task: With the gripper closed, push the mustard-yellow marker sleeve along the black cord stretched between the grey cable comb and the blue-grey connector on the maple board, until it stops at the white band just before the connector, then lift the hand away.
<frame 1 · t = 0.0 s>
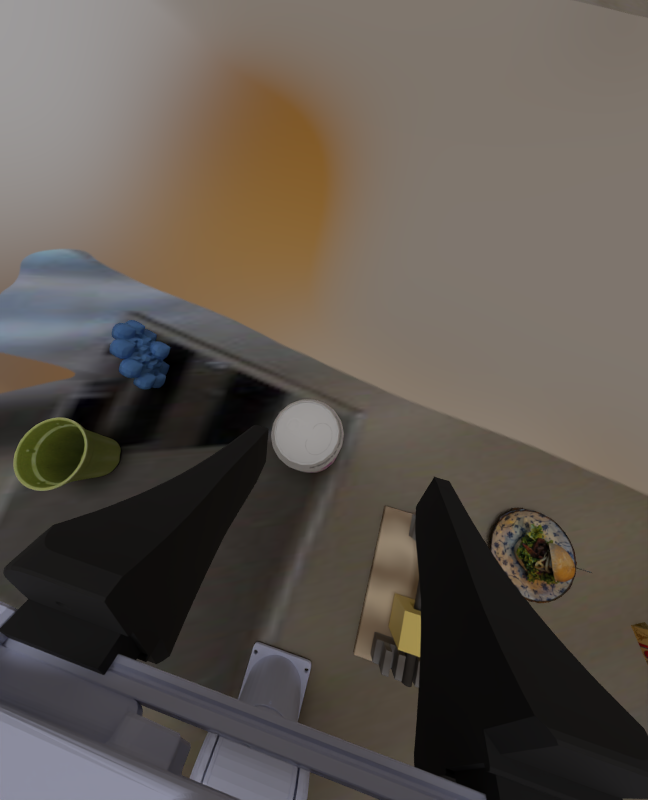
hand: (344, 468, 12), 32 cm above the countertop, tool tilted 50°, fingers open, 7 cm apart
burger: (523, 551, 40), on the countertop
supplement can: (313, 446, 44), on the countertop
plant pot: (103, 457, 44), on the countertop
marker sleeve: (416, 625, 34), point 4 cm above the countertop, slide at 0.0 cm
grapes: (170, 369, 48), on the countertop
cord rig: (411, 587, 39), on the countertop
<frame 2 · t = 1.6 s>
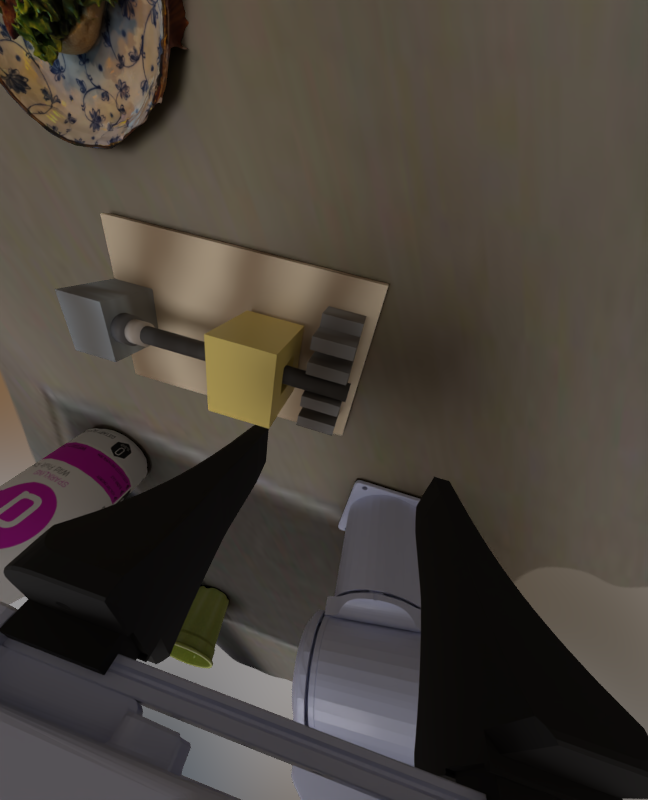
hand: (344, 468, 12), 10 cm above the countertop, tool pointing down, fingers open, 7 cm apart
burger: (85, 2, 14), on the countertop
supplement can: (121, 451, 33), on the countertop
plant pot: (215, 592, 50), on the countertop
marker sleeve: (257, 366, 18), point 4 cm above the countertop, slide at 0.0 cm
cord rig: (241, 335, 21), on the countertop
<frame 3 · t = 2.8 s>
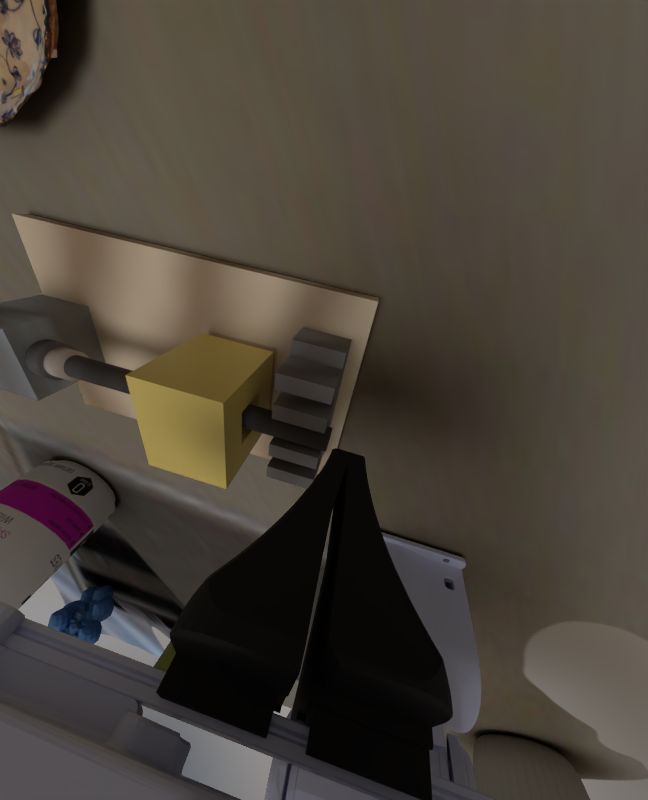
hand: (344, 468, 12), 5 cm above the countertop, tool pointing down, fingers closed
canister: (518, 743, 43), on the countertop
supplement can: (86, 483, 29), on the countertop
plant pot: (203, 624, 46), on the countertop
marker sleeve: (213, 406, 14), point 4 cm above the countertop, slide at 0.0 cm
grapes: (106, 581, 45), on the countertop
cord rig: (202, 360, 17), on the countertop
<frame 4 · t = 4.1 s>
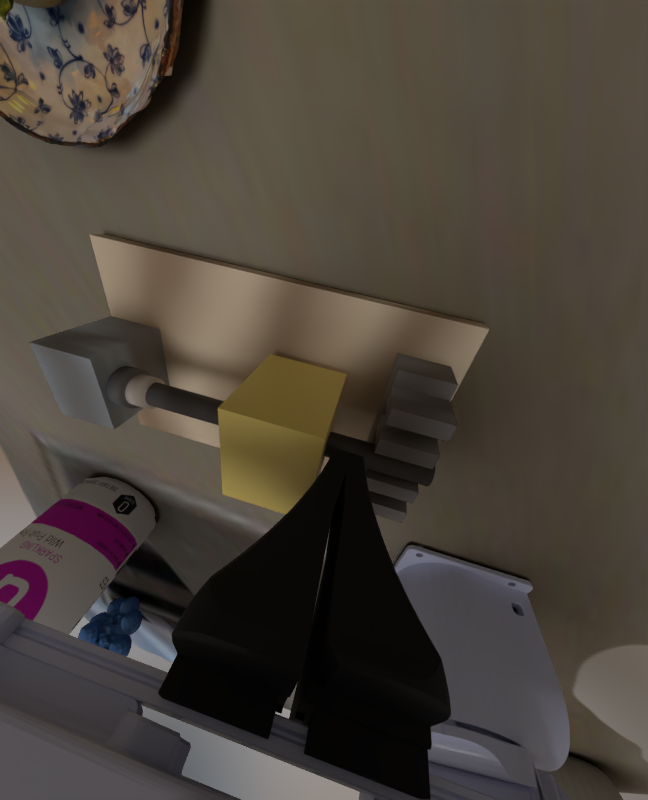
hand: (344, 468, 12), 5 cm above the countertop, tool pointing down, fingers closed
canister: (552, 756, 42), on the countertop
supplement can: (125, 499, 29), on the countertop
marker sleeve: (287, 432, 13), point 4 cm above the countertop, slide at 0.8 cm, touching gripper
grapes: (132, 592, 45), on the countertop
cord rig: (273, 382, 16), on the countertop
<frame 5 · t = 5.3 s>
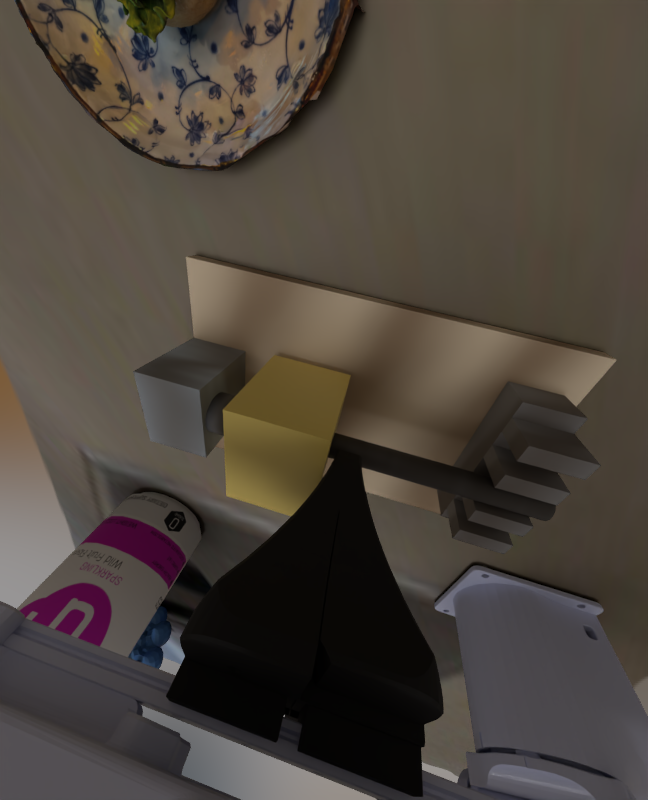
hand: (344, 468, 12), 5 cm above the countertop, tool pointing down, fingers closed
supplement can: (169, 513, 28), on the countertop
marker sleeve: (291, 433, 13), point 4 cm above the countertop, slide at 5.7 cm, touching gripper
grapes: (160, 602, 44), on the countertop
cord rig: (356, 405, 16), on the countertop
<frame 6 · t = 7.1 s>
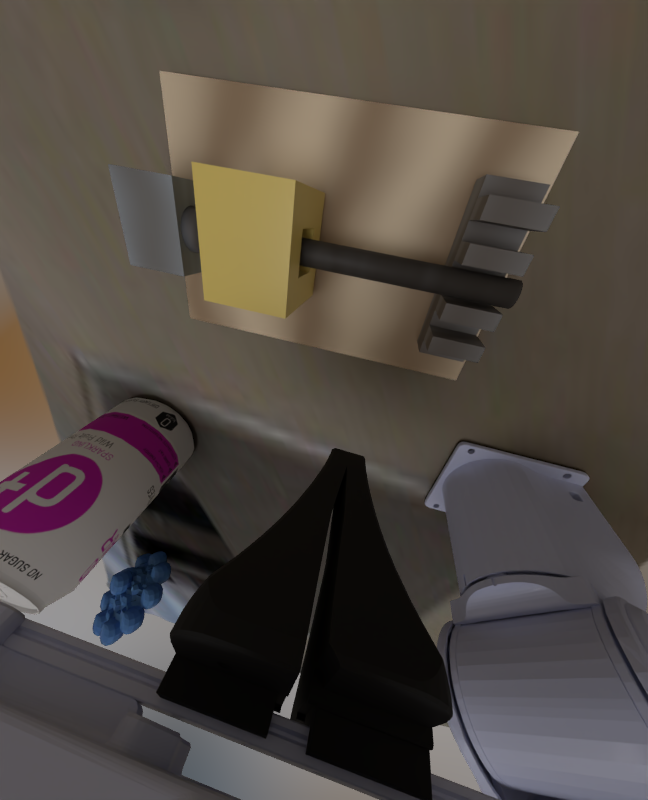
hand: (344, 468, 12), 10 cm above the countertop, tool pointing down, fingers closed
supplement can: (162, 426, 28), on the countertop
marker sleeve: (266, 244, 13), point 4 cm above the countertop, slide at 5.7 cm
grapes: (160, 547, 45), on the countertop
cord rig: (333, 249, 16), on the countertop
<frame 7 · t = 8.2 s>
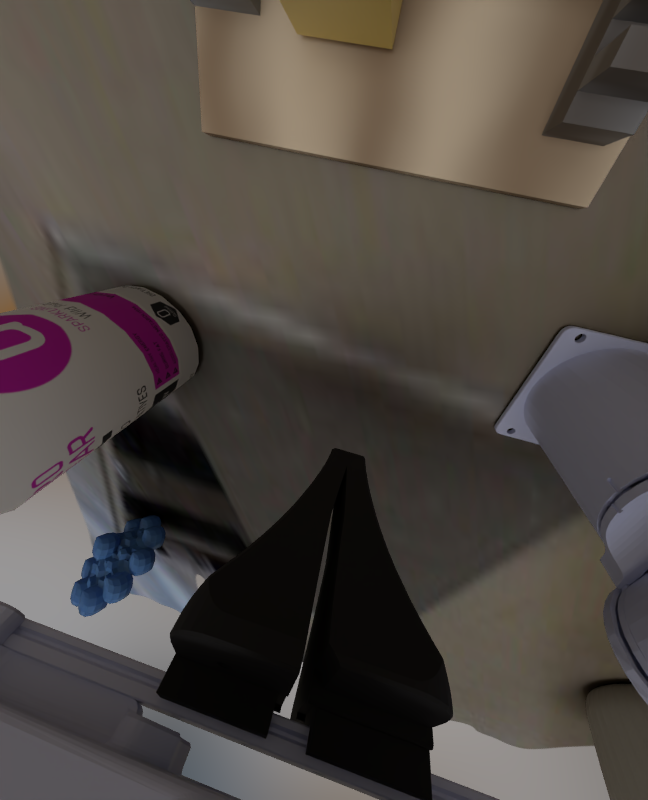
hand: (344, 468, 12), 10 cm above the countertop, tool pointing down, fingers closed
canister: (640, 695, 36), on the countertop
supplement can: (159, 336, 23), on the countertop
grapes: (153, 511, 39), on the countertop
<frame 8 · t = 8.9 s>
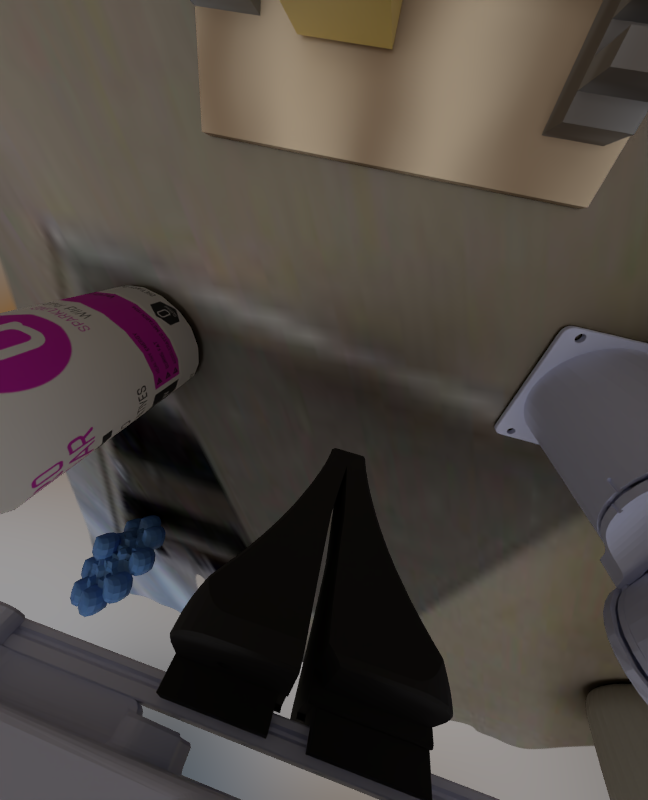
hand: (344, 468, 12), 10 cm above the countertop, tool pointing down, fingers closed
canister: (640, 695, 36), on the countertop
supplement can: (159, 336, 23), on the countertop
grapes: (153, 511, 39), on the countertop
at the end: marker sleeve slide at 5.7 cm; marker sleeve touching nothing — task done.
